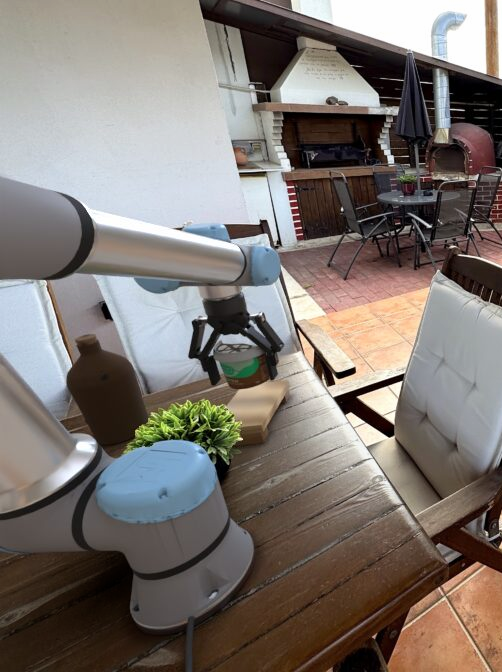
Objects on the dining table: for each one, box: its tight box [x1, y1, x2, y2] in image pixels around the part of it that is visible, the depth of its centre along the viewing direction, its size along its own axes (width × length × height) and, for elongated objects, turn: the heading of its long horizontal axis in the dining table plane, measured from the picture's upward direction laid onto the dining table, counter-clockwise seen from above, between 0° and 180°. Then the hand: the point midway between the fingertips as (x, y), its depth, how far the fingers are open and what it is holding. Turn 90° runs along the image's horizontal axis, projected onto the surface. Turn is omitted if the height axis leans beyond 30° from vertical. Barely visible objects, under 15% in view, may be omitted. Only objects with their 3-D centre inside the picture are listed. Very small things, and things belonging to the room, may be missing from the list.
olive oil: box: [65, 333, 150, 446], centre depth 90 cm, size 11×11×25 cm
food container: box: [212, 339, 270, 390], centre depth 93 cm, size 12×6×10 cm, turn 83°
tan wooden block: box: [225, 379, 291, 447], centre depth 97 cm, size 18×11×5 cm, turn 10°
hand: (245, 379), depth 94 cm, fingers closed on food container, 12 cm apart
